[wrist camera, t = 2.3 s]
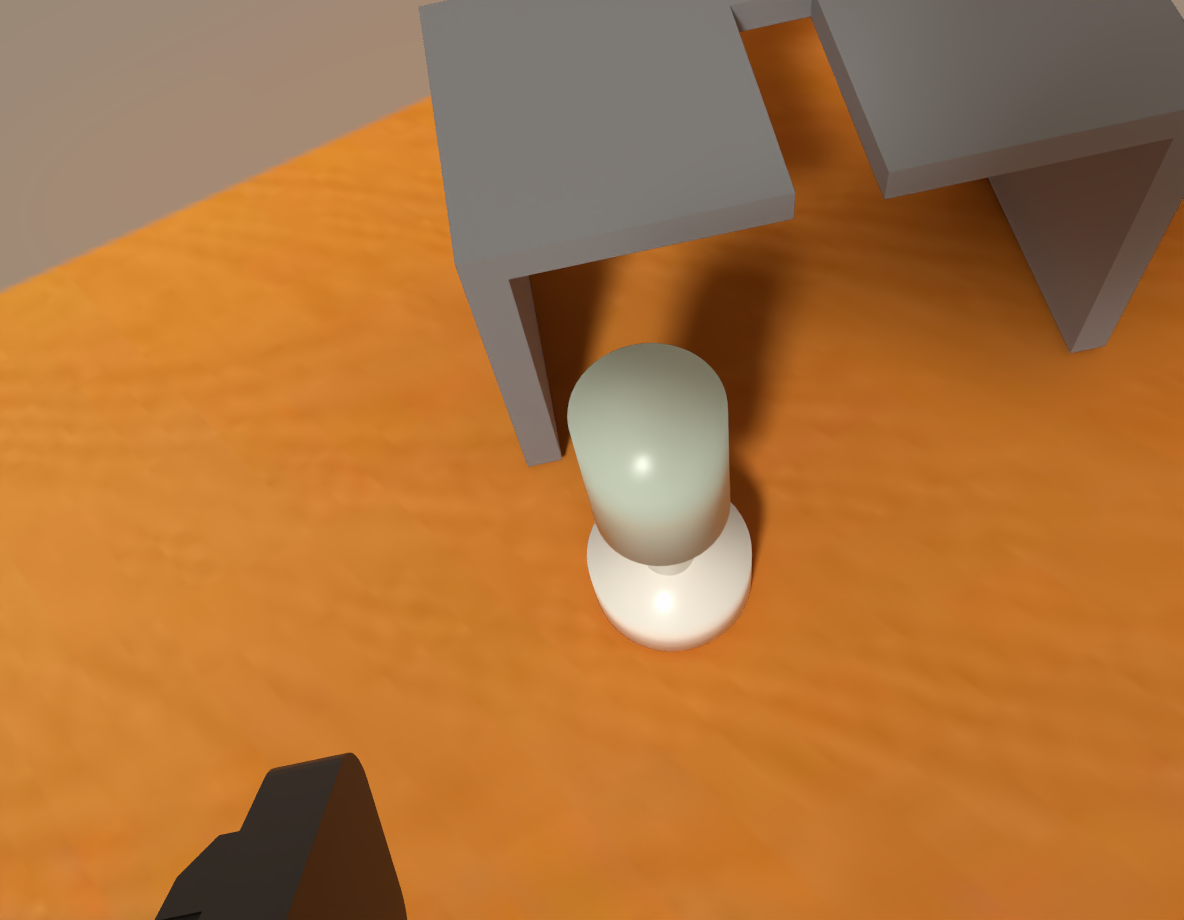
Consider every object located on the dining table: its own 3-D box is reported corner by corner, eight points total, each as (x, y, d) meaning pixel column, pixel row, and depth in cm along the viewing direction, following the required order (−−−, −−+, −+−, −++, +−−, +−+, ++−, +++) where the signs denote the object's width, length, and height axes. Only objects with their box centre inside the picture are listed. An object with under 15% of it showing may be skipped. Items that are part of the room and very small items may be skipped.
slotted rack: (528, 466, 37) (455, 265, 28) (491, 243, 42) (418, 6, 32) (1105, 346, 37) (1235, 98, 27) (1001, 135, 42) (1080, -138, 32)
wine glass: (609, 666, 34) (560, 526, 25) (583, 523, 36) (528, 346, 27) (769, 633, 33) (777, 480, 24) (730, 491, 36) (726, 303, 27)
